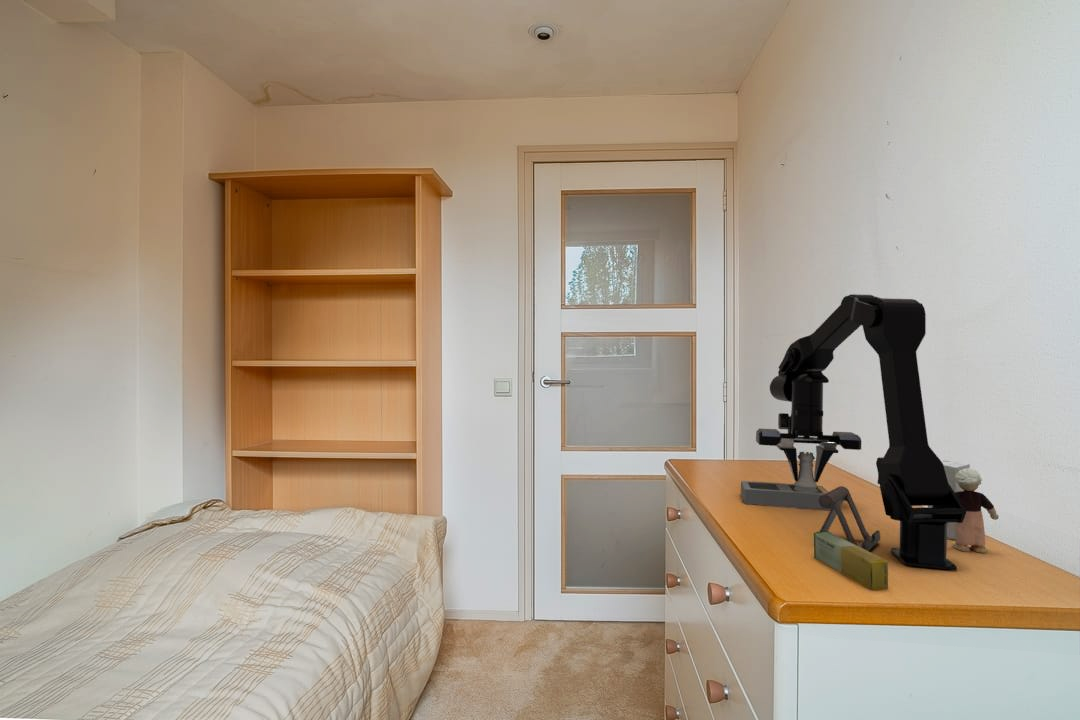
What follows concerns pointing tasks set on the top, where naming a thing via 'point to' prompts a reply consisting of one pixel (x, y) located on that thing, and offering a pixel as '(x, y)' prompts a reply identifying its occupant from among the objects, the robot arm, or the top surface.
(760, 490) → the rail
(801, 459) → the rook chess piece
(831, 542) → the medication box
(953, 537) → the skincare box
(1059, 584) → the top surface
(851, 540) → the portable electronic device stand
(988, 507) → the grandmother figurine
